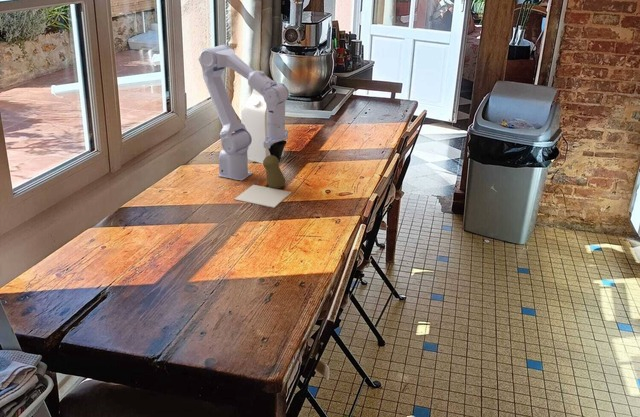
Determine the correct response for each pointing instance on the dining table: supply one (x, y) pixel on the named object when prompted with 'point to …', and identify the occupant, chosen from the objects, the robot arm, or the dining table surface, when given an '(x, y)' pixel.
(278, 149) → the robot arm
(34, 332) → the dining table surface
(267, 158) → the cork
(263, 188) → the mat
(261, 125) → the milk
